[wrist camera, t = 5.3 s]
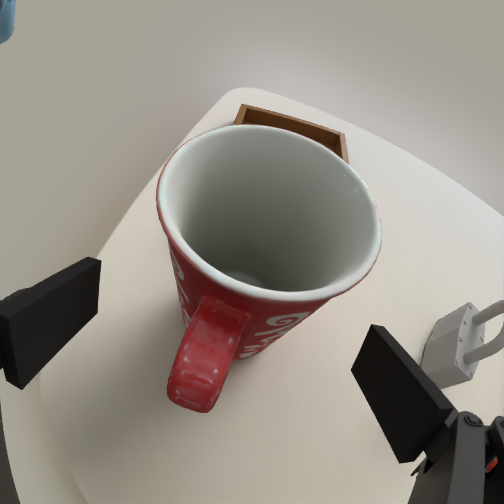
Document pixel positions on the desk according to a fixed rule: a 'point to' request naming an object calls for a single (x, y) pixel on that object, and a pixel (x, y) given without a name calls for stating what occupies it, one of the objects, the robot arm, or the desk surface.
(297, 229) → the mug
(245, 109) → the tray
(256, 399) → the desk surface
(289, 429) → the desk surface
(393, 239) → the desk surface
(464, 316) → the padlock
